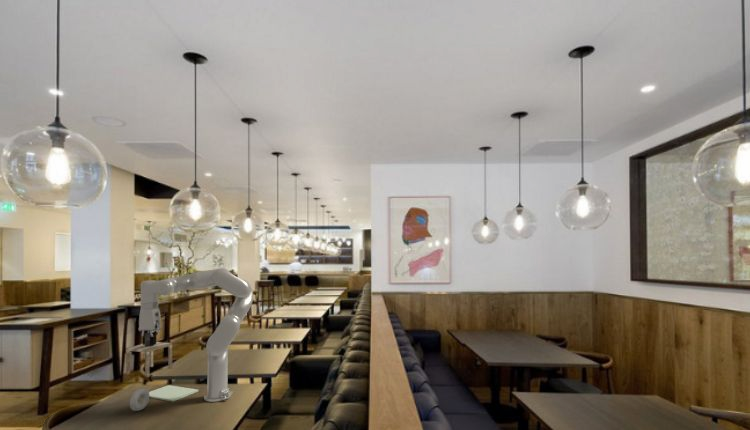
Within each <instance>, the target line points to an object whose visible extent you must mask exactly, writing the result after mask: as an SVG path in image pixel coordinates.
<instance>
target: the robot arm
mask: <svg viewBox="0 0 750 430" xmlns="http://www.w3.org/2000/svg"><path fill="white" fill-rule="evenodd" d="M212 287H219V288H220V289H221V290H223V291H225V292H227V293H229V294H230V295H232V296H234V297H235V300H234V302H233V303H232V305H231V306H230V308H229V310H228V311H227V313H226V314H225V315H224V316H223V318H222V319H221V320H220V322H219V324H218V325H217V328H216V329H215V330H214V332H213V334H212V335H210V336H209V338H208V340H207V342H206V345H205V348H206V349H205V350H206V352H207V367H206V368H207V373H206V374H207V375H206V377H207V382H206V383H207V384H206V386H207V387H206V388H207V389H206V392H207V393H206V394H205V395H204V396H203V400H204V401H205V402H209V403H210V402H211V403H212V402H213V403H215V402H221V401H226V400H228V399H229V398H231V396H232V395H233V394H234V393H233V391H232V390H230V387H228V382H229V381H228V377H229V376H228V372H229V371H228V370H229V369H228V367H229V366H228V365H229V364H228V363H229V360H228V357H229V356H228V355H229V346H230V345H231V343H232V342H233V341H234V339H235V337H236V335H237V334H238V332H239V330H240V327H241V324H242V323H243V321H244V319H245V317H246V316H247V314H248V312H249V310H250V308H251V306H252V305H253V300H254V291H253V289H252V286H251V284H250V283H249V281H247V280H246V279H241V278H240V277H238V276H236V275H234V274H232V273H231V272H230V271H229V270H228V268H224V267H220V268H213V269H209V270H204V271H198V272H193V273H190V274H186V275H180V276H175V277H169V278H168V277H167V278H165V279H160V280H156V279H155V280H154V279H151V280H142V281H141V284H140V311H139V315H138V316H139V318H138V326H139V327H138V331H139V332H140V333H141V337H142V344H143V345H145V333H149V332H150V334H151V337H150V345H154V344H156V342H157V336H158V334H159V333H160V332H161V331H162V317H161V310H160V308H159V296H161V295H162V296H167V295H170V294H172V293H178V292H182V291H189V290H196V291H197V290H202V289H206V288H207V289H208V288H212ZM153 332H154V333H153Z"/></svg>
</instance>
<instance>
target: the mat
mask: <svg viewBox="0 0 750 430" xmlns="http://www.w3.org/2000/svg"><path fill="white" fill-rule="evenodd" d="M148 392H149V395H150V397H151V399H154V400H162V401H168V402H172V403H173V402H176V401H177V400H180V399H182V398H185V397H188V396H190V395H192V394H193V395H194V394H195V393H198V392H199V389H196V388H190V387H183V386H177V385H171V384H170V385H165V386H163V387H159V388H157V389H154V390H151V391H148Z"/></svg>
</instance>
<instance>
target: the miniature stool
mask: <svg viewBox="0 0 750 430" xmlns="http://www.w3.org/2000/svg"><path fill="white" fill-rule="evenodd" d="M153 333H154V331H153ZM150 337H151V334H150V331H149V333H145V345H143V343H141V344H137V345H133V346H131V347H127V348H125V375H130V374H131V352H136V353H137V352H139V353H144V354H145V355H144V357H145V358H144V360H145V363H144V365H145V368H144V369H145V371H144V372H145V374H144V376H145V377H146V378H147V377H150V368H153V367H154V351H156V350H157V351H158V350H160V349H163V348H164V349H165V348H168V350H167V351H168V352H167V353H168V356H167V357H168V359H167V360H168V361H167V362H168V368H167V369H169V370H171V369H173V343H172V342H161V341H160V342H159V341H156V344H154V345H150Z"/></svg>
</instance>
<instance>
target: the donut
mask: <svg viewBox="0 0 750 430" xmlns="http://www.w3.org/2000/svg"><path fill="white" fill-rule="evenodd" d="M149 392H150V391H149V390H148V389H147V388H146V387H145V388H144V387H140V388H138V389H136V390H134V392H132V394H131V396H130V398H129V407H130V409H131V410H132V411H134V412H140V411H142V410H143V409H145V408H146V406H147V405H148V404H149V400H150V398H149V397H150V395H149ZM140 397H141V399H140V401H139V398H140Z"/></svg>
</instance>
